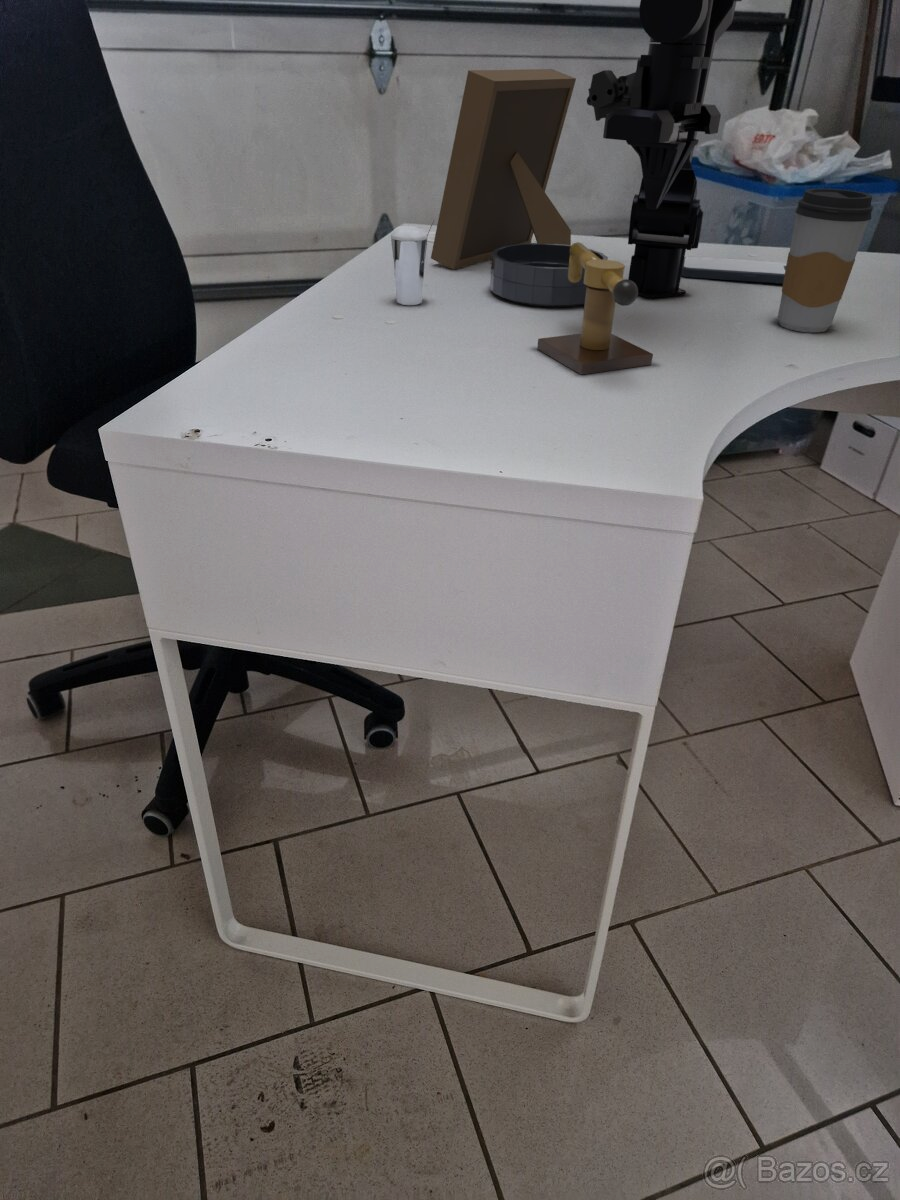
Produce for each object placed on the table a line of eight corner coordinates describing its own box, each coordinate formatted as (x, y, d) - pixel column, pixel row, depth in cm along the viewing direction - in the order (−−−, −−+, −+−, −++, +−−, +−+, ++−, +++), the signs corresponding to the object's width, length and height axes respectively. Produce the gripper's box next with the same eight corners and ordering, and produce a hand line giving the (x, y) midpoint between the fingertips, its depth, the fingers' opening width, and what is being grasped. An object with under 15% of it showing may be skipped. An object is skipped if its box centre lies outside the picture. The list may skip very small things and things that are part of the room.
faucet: (643, 332, 81) (651, 282, 78) (603, 333, 81) (610, 282, 78) (588, 280, 98) (593, 238, 95) (555, 280, 97) (559, 238, 95)
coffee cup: (837, 321, 106) (874, 191, 97) (840, 339, 99) (880, 201, 91) (769, 313, 108) (800, 185, 99) (767, 330, 101) (800, 195, 93)
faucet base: (604, 340, 96) (613, 273, 92) (651, 364, 89) (663, 293, 85) (537, 349, 93) (543, 280, 88) (581, 374, 86) (589, 301, 82)
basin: (563, 276, 121) (567, 240, 118) (624, 303, 110) (630, 263, 107) (471, 285, 115) (472, 247, 113) (525, 313, 104) (528, 272, 101)
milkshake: (428, 308, 105) (429, 223, 99) (387, 305, 106) (386, 220, 100) (436, 299, 109) (437, 216, 103) (396, 296, 109) (396, 214, 104)
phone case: (678, 279, 123) (791, 286, 120) (680, 267, 122) (794, 275, 119) (680, 266, 130) (787, 273, 127) (682, 255, 129) (789, 262, 126)
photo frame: (430, 265, 125) (433, 68, 110) (508, 243, 139) (519, 67, 125) (513, 282, 118) (528, 74, 104) (586, 257, 132) (607, 72, 118)
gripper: (640, 43, 96) (621, 191, 105) (566, 40, 83) (550, 209, 92) (735, 46, 91) (706, 202, 100) (671, 43, 78) (644, 223, 87)
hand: (651, 208), depth 95 cm, fingers closed
